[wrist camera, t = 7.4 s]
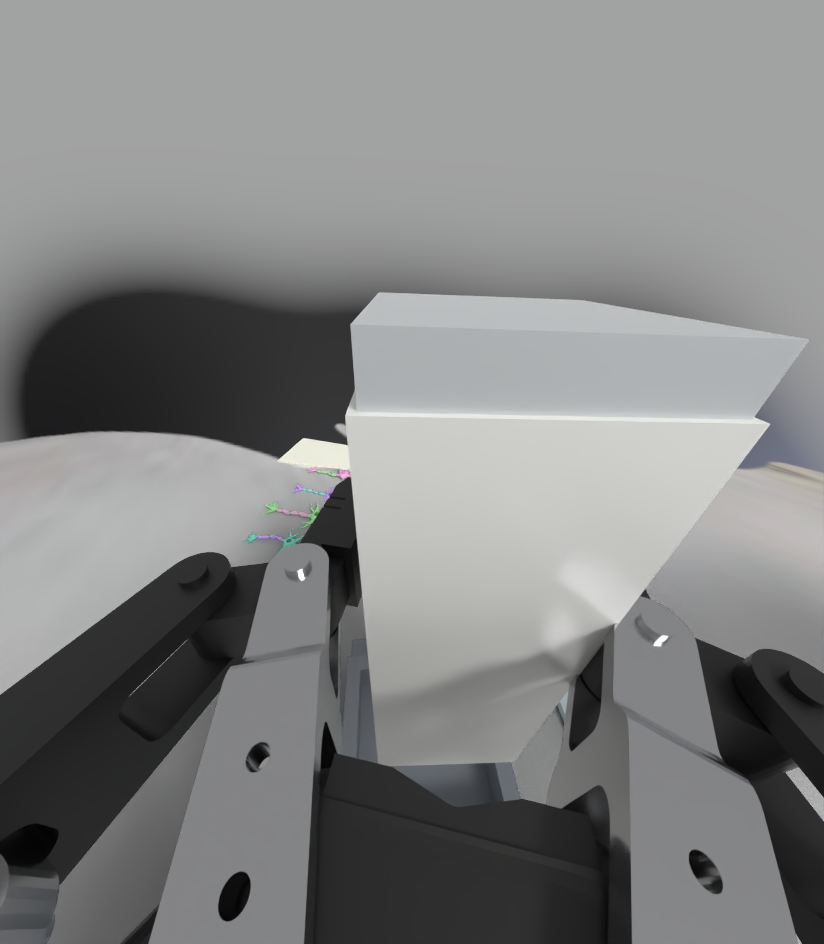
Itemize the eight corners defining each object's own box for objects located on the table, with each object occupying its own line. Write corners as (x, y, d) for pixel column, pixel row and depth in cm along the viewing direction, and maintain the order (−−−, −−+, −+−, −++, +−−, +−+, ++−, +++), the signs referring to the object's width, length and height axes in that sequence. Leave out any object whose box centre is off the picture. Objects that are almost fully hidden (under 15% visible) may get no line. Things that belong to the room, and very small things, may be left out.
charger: (483, 628, 13) (584, 299, 6) (513, 762, 10) (833, 341, 3) (384, 629, 13) (374, 292, 6) (378, 766, 10) (335, 325, 2)
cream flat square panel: (491, 470, 44) (493, 462, 43) (479, 719, 20) (483, 711, 19) (303, 439, 49) (302, 431, 48) (115, 609, 25) (105, 599, 24)
